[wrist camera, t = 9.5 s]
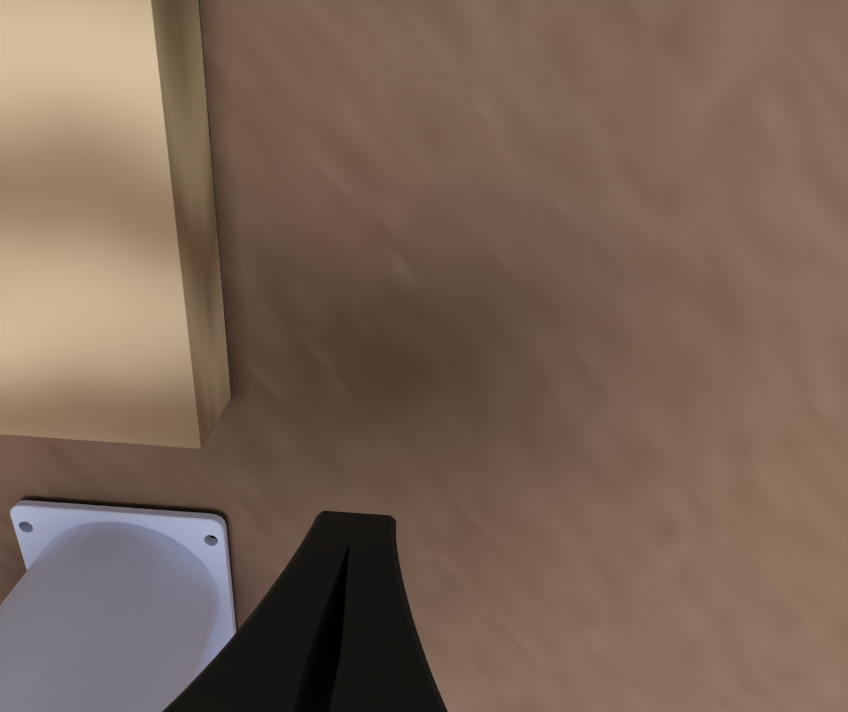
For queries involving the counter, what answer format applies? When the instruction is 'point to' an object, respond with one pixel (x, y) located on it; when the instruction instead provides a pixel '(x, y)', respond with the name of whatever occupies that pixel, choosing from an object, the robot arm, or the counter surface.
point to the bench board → (108, 225)
